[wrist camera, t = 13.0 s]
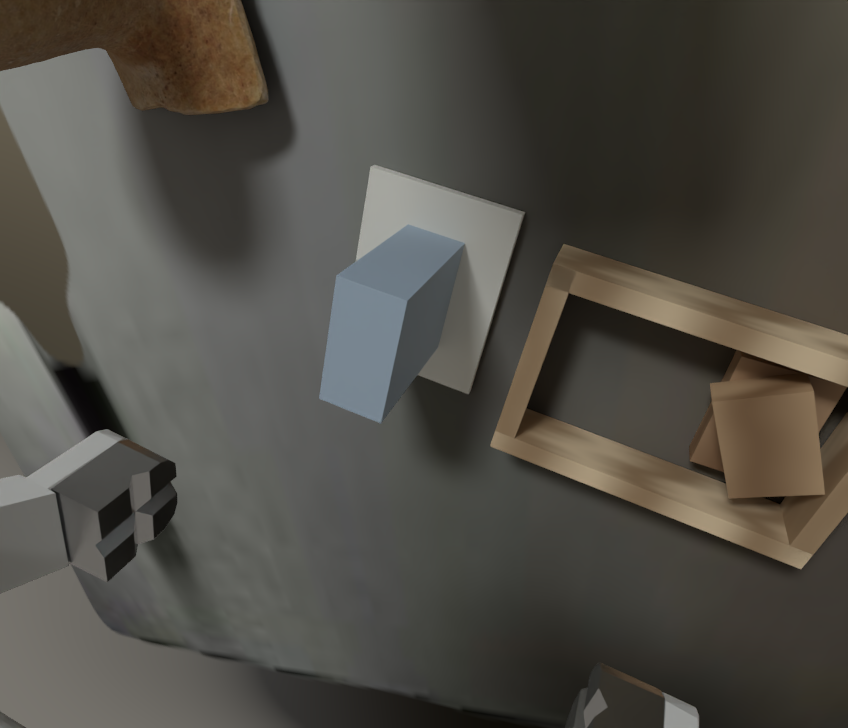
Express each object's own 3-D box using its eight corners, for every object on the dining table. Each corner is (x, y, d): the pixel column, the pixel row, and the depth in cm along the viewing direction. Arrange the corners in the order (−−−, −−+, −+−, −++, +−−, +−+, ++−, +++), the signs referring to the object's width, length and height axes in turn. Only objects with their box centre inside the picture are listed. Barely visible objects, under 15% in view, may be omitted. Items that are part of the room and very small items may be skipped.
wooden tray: (918, 358, 30) (945, 392, 27) (790, 526, 36) (801, 569, 33) (563, 243, 33) (553, 263, 30) (503, 415, 39) (490, 446, 36)
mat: (525, 212, 33) (522, 214, 32) (471, 390, 39) (468, 394, 39) (375, 164, 35) (370, 166, 34) (346, 342, 41) (342, 346, 40)
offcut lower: (838, 368, 32) (847, 386, 30) (777, 469, 35) (782, 491, 34) (738, 340, 33) (741, 356, 31) (688, 441, 36) (689, 460, 35)
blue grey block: (464, 243, 34) (407, 300, 27) (438, 347, 38) (380, 423, 31) (408, 224, 35) (336, 275, 27) (387, 328, 39) (319, 398, 31)
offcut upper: (806, 372, 30) (814, 391, 29) (817, 471, 32) (824, 494, 31) (710, 383, 32) (712, 402, 31) (725, 476, 34) (728, 498, 33)
